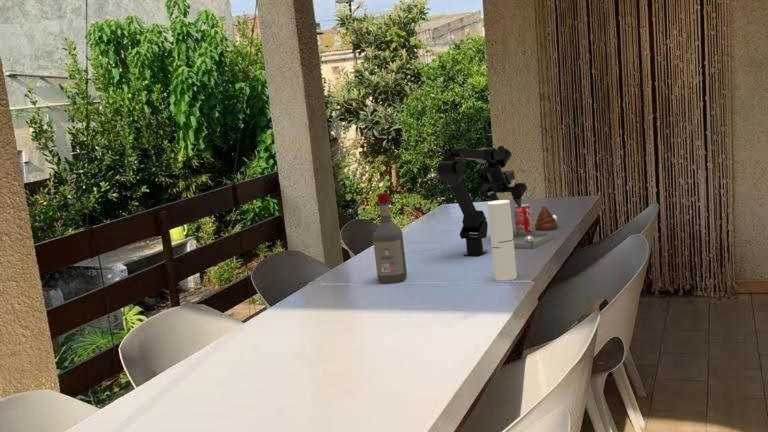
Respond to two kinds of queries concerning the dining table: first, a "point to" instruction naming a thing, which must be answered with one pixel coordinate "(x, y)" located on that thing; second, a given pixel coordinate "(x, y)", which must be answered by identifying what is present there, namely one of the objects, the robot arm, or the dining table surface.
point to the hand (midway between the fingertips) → (510, 206)
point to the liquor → (388, 246)
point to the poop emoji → (546, 220)
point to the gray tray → (538, 237)
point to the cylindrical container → (502, 240)
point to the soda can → (523, 218)
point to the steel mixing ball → (529, 239)
